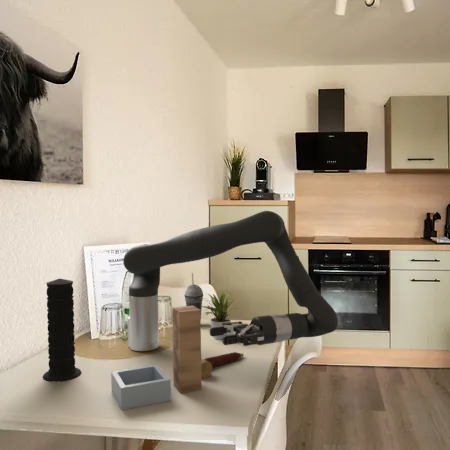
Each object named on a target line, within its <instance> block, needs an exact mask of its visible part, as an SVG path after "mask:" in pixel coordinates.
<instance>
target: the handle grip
mask: <svg viewBox="0 0 450 450" xmlns="http://www.w3.org/2000/svg"><path fill="white" fill-rule="evenodd" d="M45 284H46V296H47V297H46V300H47V302H46V307H47V309H46V312H47V315H46V317H47V320H48V321H47V331H48V332H47V336H48V338H47V343H48V345H47V347H48V349H47V352H48V359H49V360H48V367H49V369H48V371H46V372H44V374H43V376H42V380H44V381H47V382H51V381H55V382H54V383H59V382H58V381H60V382H65V381H70V380H73V379H77V378H78V377H80V376H81V375H82V371H81V370H80V368H78V367H76V358H75V357H76V353H75V351H76V347H75V343H76V342H75V339H76V337H75V334H74V333H75V323H74V322H75V319H74V317H75V313H74V312H75V311H74V308H75V307H74V305H75V303H74V302H75V301H74V297H75V296H74V295H73V294H74V287H73V284H74V281H73V280H70V279H64V278H57V279H54V280H51V281H47V282H46V283H45Z"/></svg>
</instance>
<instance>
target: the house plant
mask: <svg viewBox="0 0 450 450" xmlns="http://www.w3.org/2000/svg"><path fill="white" fill-rule="evenodd" d="M227 293H228V292H227V291H222V292H221V294H220V297H219V299H218V298H217V296H216V295H215V294H214V293H213V294H212V295H213V296H212V295H211V294H209V293H207V292H206V293H205V294H207V295H208V296H209V297H210V298H211V299H210V302H211V303H209V300H206V298H204V297H203V300H206V302H207V303H209V305H208V304H206V306H205V305H202V306H201V307H202V308H203V309H204V308H205V311H206V312H205V311H204V313H203V315H205V316H208V315H209V314H211V315H213V316H214V317H212V318H210V320H209V321H210V328H213V327H221V326H222V323H230V322H232V321H231V318H229V317H228V316H230V315H231V313H230V314H229V313H228V312H227V311H228V308H229V307H230V306H231V304H232V303H233V302H234V301H235V299H236V298H234V299H233V300H232V301H231V298H232V295H230V293H228V294H227ZM226 294H227V297H226ZM229 295H230V296H229ZM208 310H210V311H208ZM232 310H238V308H237V307H235V308H234V307H233V308H232V309H230V311H232ZM229 329H230V328H227V330H229ZM223 336H226V335H219V336H212V338H213V339H214V340H218V341H219V340H221V341H223Z"/></svg>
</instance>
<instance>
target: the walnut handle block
mask: <svg viewBox="0 0 450 450" xmlns="http://www.w3.org/2000/svg"><path fill="white" fill-rule="evenodd" d="M171 310H172V313H171V315H172V317H171V319H172V364H173V365H172V370H173V371H172V374H173V378H172V379H173V380H172V381H173V387H174V388H175V389H176V390H177V391H178V392H179V394H184V393H190V392H195V391H200V390H202V378H201V360H202V333H201V332H202V328H201V326H202V324H201V323H202V311H201V312H200V309H198V308H196V307H194V306H186V305H185V306H176V307H172V309H171Z"/></svg>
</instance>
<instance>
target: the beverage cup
mask: <svg viewBox="0 0 450 450" xmlns="http://www.w3.org/2000/svg"><path fill="white" fill-rule="evenodd" d="M194 283H195V282H194V273H193V272H191V285H189V286H187V287H186V289H185V291H184V301H185V306H194V307H196V308H198V309H200V312H201V313H202V310H203V309H202V308H203V307H201V306H203V301H204V292H203V289H202V288H201V287H200V286H199V285H197V284H194Z"/></svg>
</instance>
